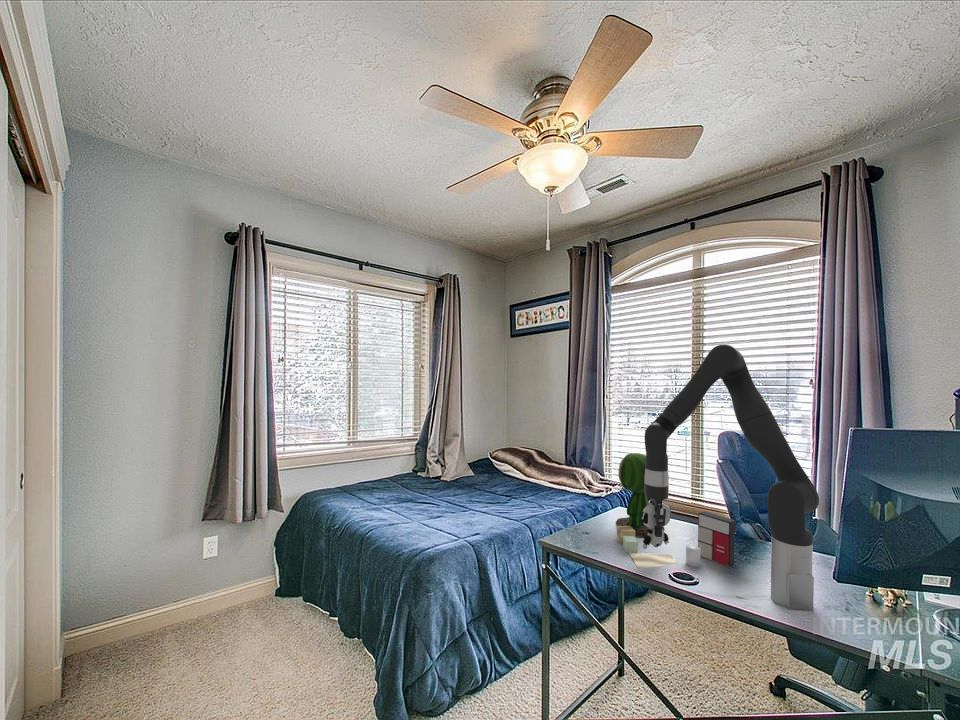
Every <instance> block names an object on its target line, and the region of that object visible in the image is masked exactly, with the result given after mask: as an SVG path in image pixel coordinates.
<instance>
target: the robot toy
mask: <svg viewBox="0 0 960 720" xmlns="http://www.w3.org/2000/svg"><path fill="white" fill-rule="evenodd" d="M663 504H664V509H666V517H665V526H667V525H668V524H669V523H670V521H671V514H672V508H673V505H674V503H671V504H670V506H669V505H668V504H665V503H663ZM654 513H655V515H657V514H656V512H655V506H654V505H653V506H651V504H649V505H647V506H646V507H645V508H644V510H643V513H642V522H643V523H644V525H645V526H647V527H649V529H648V531H647V532H648V535H647V536H645V537H644V538H643V540H642V543H643V544H642V547H641V548H642V549H644V550H647V549H648V546H650V545H652V546H653V547H654V548H659V547H661V546H662V545H663V543H664V544H665V545H668V544H669V542H670V541H669V534H667V533H665V526H662V537H656V536H655V535H654V531H655V524H654V517H653V515H654ZM659 522H660V520H659Z"/></svg>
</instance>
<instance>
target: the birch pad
mask: <svg viewBox="0 0 960 720" xmlns="http://www.w3.org/2000/svg"><path fill="white" fill-rule="evenodd" d="M629 556H630V557H631V560H632V561H633V563H634V565H635V567H636V568H637V569H640V570H641V569H646V568H654V567H662V566H670V565H677V564H678V563H677V561H676V559H675V558H674V557H673V555H672V554H661V553H659V554H658V553H643V552H638V553H629Z"/></svg>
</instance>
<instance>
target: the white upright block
mask: <svg viewBox="0 0 960 720" xmlns="http://www.w3.org/2000/svg"><path fill="white" fill-rule="evenodd" d="M701 557H702V556H701V548H700V547H698V545H694V544H687V545H685V564H686V565H687V566H690V567H693V568H699V567H701V563H702V562H701V559H702V558H701Z"/></svg>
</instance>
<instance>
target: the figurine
mask: <svg viewBox="0 0 960 720" xmlns="http://www.w3.org/2000/svg"><path fill="white" fill-rule="evenodd" d="M645 468H646V454H643V453H639V452H638V453H637V452H634V453H628V454H626V455H624V457H623V458H622V459H621V460H620V462H619V466H618V474H617V475H618V480H619V481H620V483H621V486H622V487H623V488H624V489H625V490H628V491H629V492H632V494H631V495H630V498H629V500H628V503H627V505H626V514H627V517H621V518H617V519H616V521H615V524H616V527H617V526H631V527H632V528H633V529H634V530H635V538H636V537H637V538H640V539H644V537H645V536H647V535H648V532H647V531H648V529H649V527H647V526H645V525H644V523H643V522H642V513H643V510H644V508H645V507H646V506H647V497H646V496H645V494H644V482H645Z"/></svg>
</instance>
